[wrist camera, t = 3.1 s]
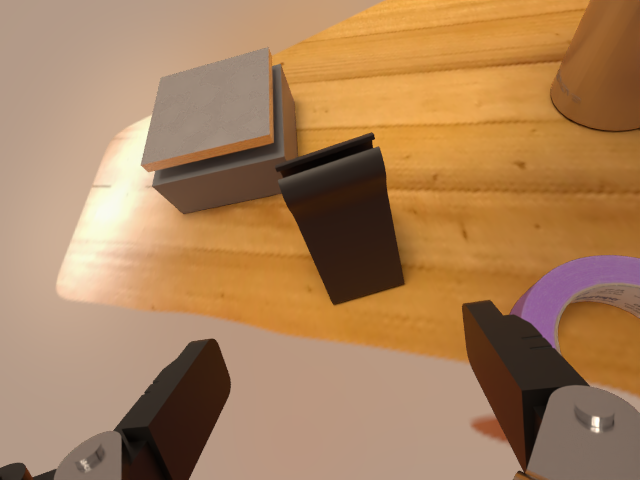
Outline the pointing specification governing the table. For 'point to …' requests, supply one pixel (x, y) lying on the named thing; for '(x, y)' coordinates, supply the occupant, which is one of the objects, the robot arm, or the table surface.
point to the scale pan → (211, 111)
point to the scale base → (236, 164)
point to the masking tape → (580, 291)
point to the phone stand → (345, 216)
